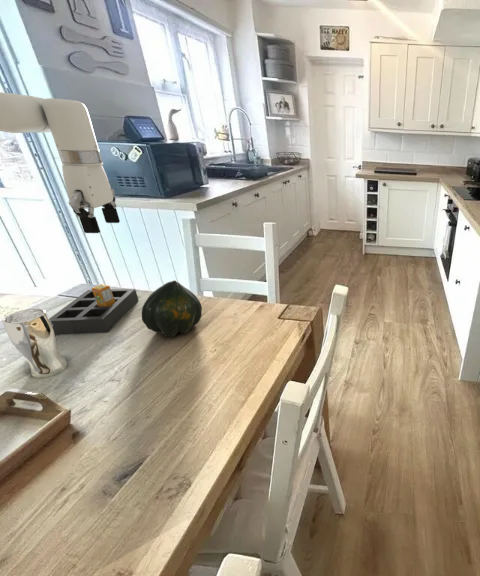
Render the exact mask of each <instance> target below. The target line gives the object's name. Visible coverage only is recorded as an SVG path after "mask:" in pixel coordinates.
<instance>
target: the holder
mask: <svg viewBox="0 0 480 576" xmlns="http://www.w3.org/2000/svg"><path fill="white" fill-rule="evenodd" d="M110 289H111V292H112V294H113V297H114V300H115V303H114V304H113V305H112V306H105V307H98V304H97V301H96V299H95V296H94V294H93V291H92V289H87V290H86V291H85V292H83V293H82V294H80V295H79V296H78V297H76V298H75V299H73V300H71V302H70V303H68V304H66V305H65V306H64V307H63V308H62V309H60V310H59V311H57V312H56V313H54V314H53V315H52V316H51V317H49V319H50V320H51V322H52V324H53V326H54V329H55V332H56V336H65V335H82V334H83V335H85V334H87V335H88V334H102V333H103V334H104V333H109V332H110V331H111V330H112V329H113V328H114V327H115V326H116V325H117V324H118V322H119V321H121V319H122V318H123V317H125V315H127V313H128V312H130V310H131V309H132V308H133V307H134V306H135V305H136V304H137V303H138V302H140V301H139V297H138V293H137V290H136V288H110Z"/></svg>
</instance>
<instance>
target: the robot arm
mask: <svg viewBox="0 0 480 576" xmlns="http://www.w3.org/2000/svg"><path fill="white" fill-rule="evenodd" d="M93 127H94V126H93V124H92V120H91V118H90V114H89V111H88V108H87V107H86V105H85V104H84V103H83V102H81V101H78V100H74V99H67V98H66V99H65V98H53V97H48V98H44V97H38V96H33V95H26V94H20V93H10V92H1V91H0V132H4V133H11V134H29V133H33V134H36V133H37V134H38V133H51V135H52V138H53V141H54V144H55V147H56V149H57V152H58V156H59V158H60V161H61V164H62V165H61V166H62V167H61V168H62V177H63V181H64V185H65V188H66V193H67V196H68V199H69V200H68V205H69V206H70V208H71V209H72V211H73V213H74V214H75V215H76V217H77V218H79V222H80V224H81V227H82V230H83V232H84V234H99V233H101V230H100V227H99V223H98V220H97V218H96V216H94V213H95V209H97V208H99V207H101V211H102V215H103V218H104V222H105V223H106V224H119V223H120V222H121V221H120V217H119V214H118V210H117V203H116V197H115V190H114V188H112V187H111V184H110V181H109V178H108V176H107V173H106V171H105V168H104V166H103V165H104V162H103V158H102V155H101V152H100V149H99V148H100V147H99V144H98V142H97V138H96V135H95V130H94V128H93Z"/></svg>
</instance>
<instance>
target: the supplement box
mask: <svg viewBox="0 0 480 576" xmlns="http://www.w3.org/2000/svg"><path fill="white" fill-rule="evenodd" d="M111 289H112V288H111V286H110V285H106V284H103V283H100V284H98V285H96V286H94V287H92V288H91V290H92V291H93V294H94V296H95V299H96V301H97V304H98V307H105V306H112V305H113V304H114V303H115V300H114V297H113V294H112V292H111Z"/></svg>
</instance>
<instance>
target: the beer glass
mask: <svg viewBox="0 0 480 576" xmlns="http://www.w3.org/2000/svg"><path fill="white" fill-rule="evenodd" d="M49 318H50V317H49V315H48V313H47V311H46V309H44V308H40V307H38V308H36V307H34V308H26V309H22V310H18V311H14V312H12V313H10V314H8V315H5V316H4V318H2V324H3V326H4V329H5V332H6V335H7V336H8V338H9V340H10V342H11V343H12V345H13V346H14V348H15V349H16V350H17V351H18V353H20V354H21V355H22V356H23V357H24V359H26V361H27V363H28V365H29V368H30V373H31V376H32V378H35V379H44V378H49V377H53V376H56V375H58V374H60V373H61V372H63V371H64V370H65V369H66V368H67V367H68V362H67V361H66V359H65V357H63V355H62V354H61V352H60V348H59V343H58V337H57V336H58V335H56V332H55V329H54V326H53V324H52V322H51V320H50V319H49Z"/></svg>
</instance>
